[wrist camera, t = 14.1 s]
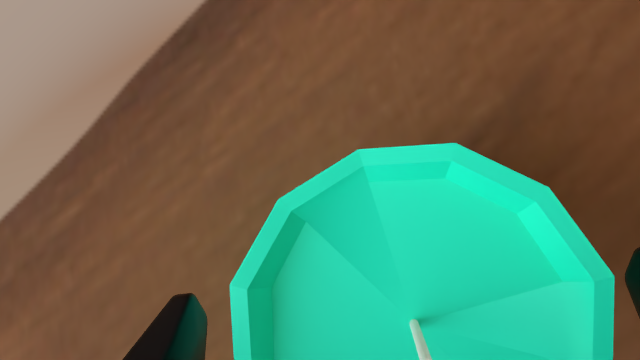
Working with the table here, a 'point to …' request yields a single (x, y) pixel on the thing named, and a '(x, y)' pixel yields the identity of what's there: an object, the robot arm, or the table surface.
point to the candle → (421, 266)
